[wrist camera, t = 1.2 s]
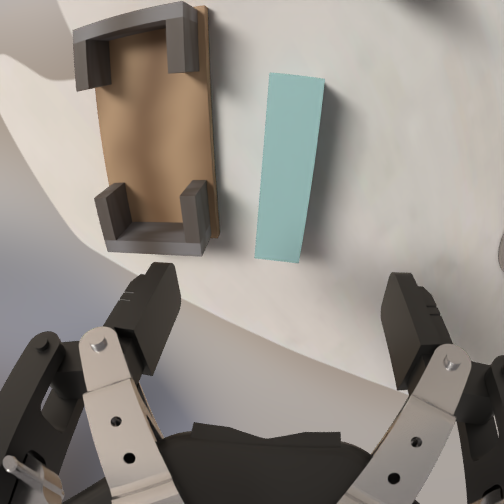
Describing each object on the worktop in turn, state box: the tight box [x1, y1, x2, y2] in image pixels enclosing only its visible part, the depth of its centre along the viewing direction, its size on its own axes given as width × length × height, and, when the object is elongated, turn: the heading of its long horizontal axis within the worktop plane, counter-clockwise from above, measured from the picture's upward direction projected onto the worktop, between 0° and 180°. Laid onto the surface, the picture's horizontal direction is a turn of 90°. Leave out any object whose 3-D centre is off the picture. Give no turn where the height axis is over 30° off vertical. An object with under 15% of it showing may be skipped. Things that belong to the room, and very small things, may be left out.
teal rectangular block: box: [255, 73, 325, 263], centre depth 23 cm, size 4×14×4 cm, turn 176°
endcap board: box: [73, 1, 220, 256], centre depth 22 cm, size 10×20×4 cm, turn 1°
